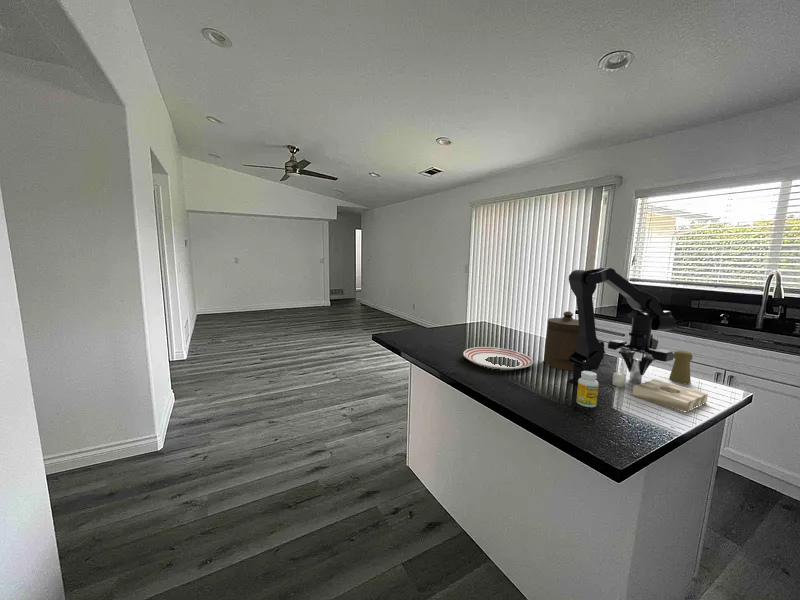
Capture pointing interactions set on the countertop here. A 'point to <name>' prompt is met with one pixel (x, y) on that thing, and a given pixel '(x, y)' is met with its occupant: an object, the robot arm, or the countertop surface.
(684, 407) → the hole board
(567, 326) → the wooden container
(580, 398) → the supplement bottle
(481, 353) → the dinner plate
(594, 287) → the robot arm
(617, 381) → the short cream pin
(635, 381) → the tall steel pin
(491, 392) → the countertop surface
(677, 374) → the cork
